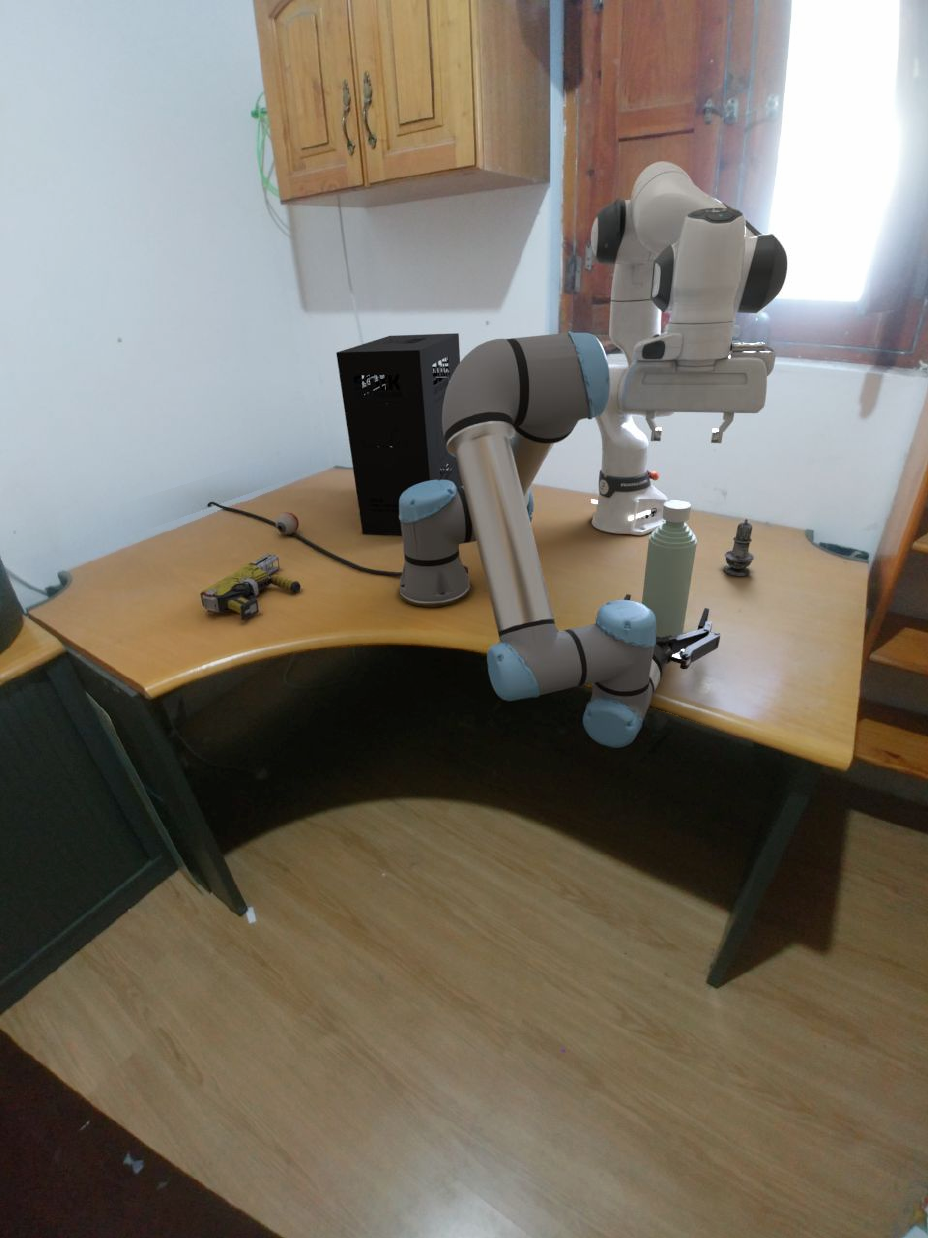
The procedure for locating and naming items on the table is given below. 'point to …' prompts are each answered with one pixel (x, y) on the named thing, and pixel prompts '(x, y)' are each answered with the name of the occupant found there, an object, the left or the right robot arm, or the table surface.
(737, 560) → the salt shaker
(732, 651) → the table surface
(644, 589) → the bottle
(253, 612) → the toy gun
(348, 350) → the cardboard box
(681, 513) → the cap
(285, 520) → the eyeball
